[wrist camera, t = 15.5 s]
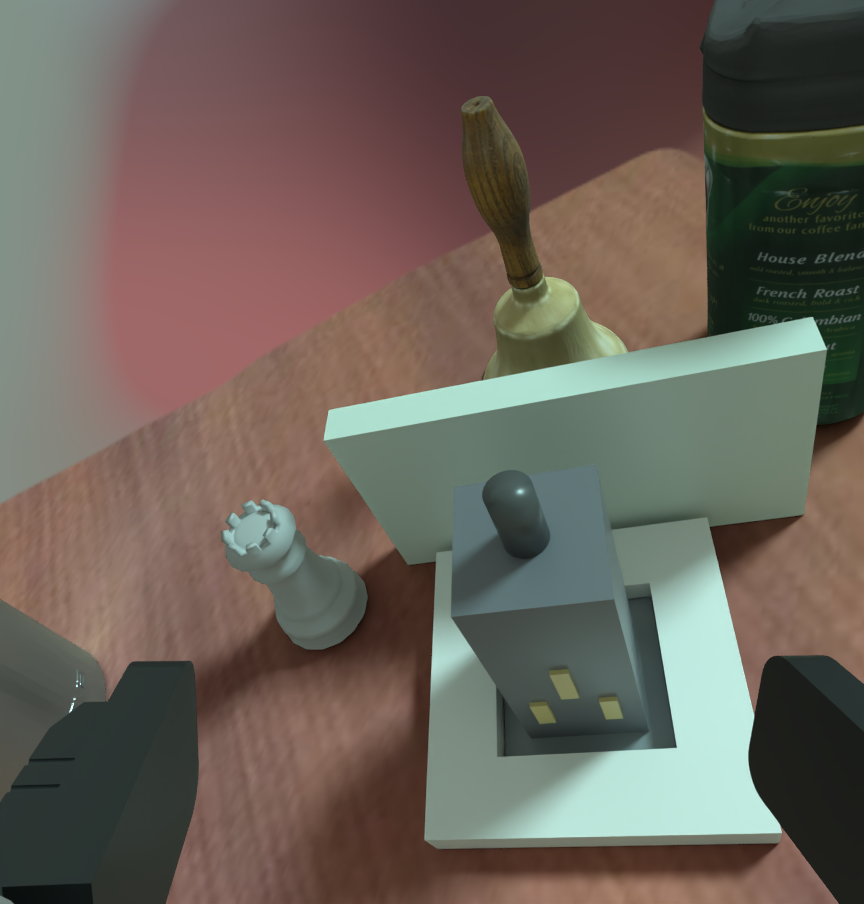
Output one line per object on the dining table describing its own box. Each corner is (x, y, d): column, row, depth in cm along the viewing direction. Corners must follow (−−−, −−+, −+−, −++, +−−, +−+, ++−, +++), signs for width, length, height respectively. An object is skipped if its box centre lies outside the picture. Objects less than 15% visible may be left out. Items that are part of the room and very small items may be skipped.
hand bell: (488, 448, 39) (382, 189, 27) (478, 344, 44) (386, 90, 32) (645, 413, 37) (605, 119, 25) (615, 309, 42) (570, 26, 30)
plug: (531, 742, 28) (423, 581, 18) (526, 631, 31) (430, 440, 21) (649, 735, 27) (603, 559, 17) (632, 620, 30) (584, 413, 20)
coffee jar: (886, 442, 32) (1004, -12, 18) (697, 426, 35) (675, 38, 22) (892, 293, 37) (989, -154, 23) (725, 292, 40) (723, -94, 26)
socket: (388, 849, 28) (264, 780, 20) (409, 537, 37) (328, 410, 29) (914, 840, 23) (999, 746, 16) (793, 484, 32) (812, 316, 24)
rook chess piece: (270, 623, 36) (180, 541, 30) (331, 556, 37) (256, 465, 32) (326, 672, 33) (239, 593, 27) (389, 598, 35) (319, 507, 29)
